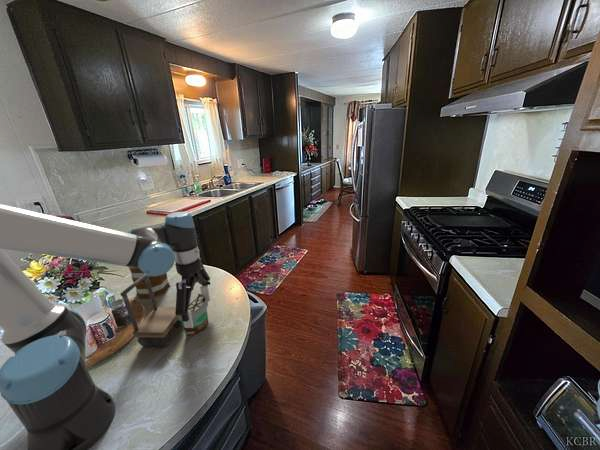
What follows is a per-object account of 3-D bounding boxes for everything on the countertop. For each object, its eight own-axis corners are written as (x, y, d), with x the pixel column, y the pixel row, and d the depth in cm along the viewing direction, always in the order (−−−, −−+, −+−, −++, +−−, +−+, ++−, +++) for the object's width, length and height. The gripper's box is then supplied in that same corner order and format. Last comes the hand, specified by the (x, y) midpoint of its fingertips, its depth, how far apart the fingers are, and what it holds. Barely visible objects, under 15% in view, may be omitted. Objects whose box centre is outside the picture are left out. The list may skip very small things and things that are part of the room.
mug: (168, 294, 107) (160, 264, 101) (133, 302, 102) (122, 272, 97) (172, 273, 124) (166, 246, 119) (142, 279, 119) (134, 252, 114)
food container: (199, 341, 81) (194, 317, 78) (183, 339, 82) (177, 315, 79) (218, 315, 93) (213, 293, 89) (203, 314, 94) (198, 292, 90)
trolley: (167, 349, 78) (151, 293, 71) (138, 349, 79) (118, 293, 72) (186, 322, 90) (173, 272, 82) (160, 322, 90) (145, 272, 83)
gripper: (178, 280, 66) (191, 340, 73) (213, 243, 90) (221, 292, 97) (152, 280, 67) (168, 340, 74) (194, 243, 90) (203, 291, 97)
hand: (198, 313), depth 85 cm, fingers open, 13 cm apart
